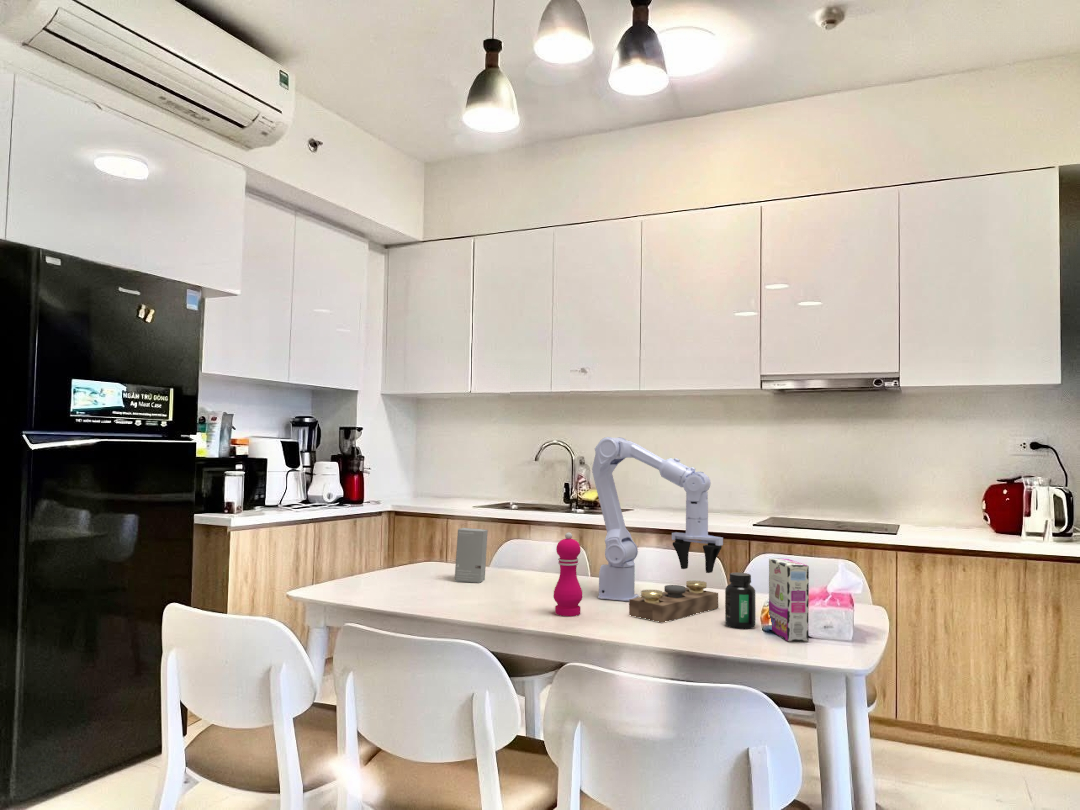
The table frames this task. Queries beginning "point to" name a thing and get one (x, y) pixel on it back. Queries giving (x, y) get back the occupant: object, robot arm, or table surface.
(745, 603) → the supplement bottle
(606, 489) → the robot arm
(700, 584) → the far brass knob
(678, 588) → the middle black knob
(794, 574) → the candy bar box
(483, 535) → the skincare box
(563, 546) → the pepper mill
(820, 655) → the table surface
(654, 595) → the near brass knob
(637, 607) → the control panel
